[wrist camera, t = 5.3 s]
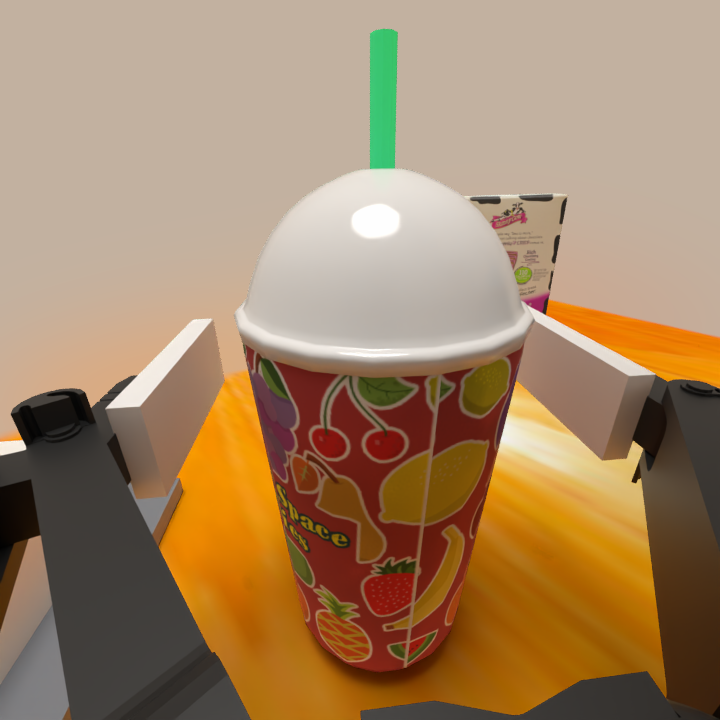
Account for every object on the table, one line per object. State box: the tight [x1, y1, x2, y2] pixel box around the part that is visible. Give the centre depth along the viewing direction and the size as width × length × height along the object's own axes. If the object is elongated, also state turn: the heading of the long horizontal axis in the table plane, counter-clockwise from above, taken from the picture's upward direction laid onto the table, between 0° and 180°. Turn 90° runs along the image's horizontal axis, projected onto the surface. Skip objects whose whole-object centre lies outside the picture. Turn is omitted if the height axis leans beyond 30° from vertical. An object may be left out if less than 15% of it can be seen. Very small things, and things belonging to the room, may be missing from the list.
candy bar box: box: [464, 194, 568, 315], centre depth 39 cm, size 11×5×16 cm, turn 97°
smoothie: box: [234, 29, 535, 672], centre depth 13 cm, size 8×8×20 cm
